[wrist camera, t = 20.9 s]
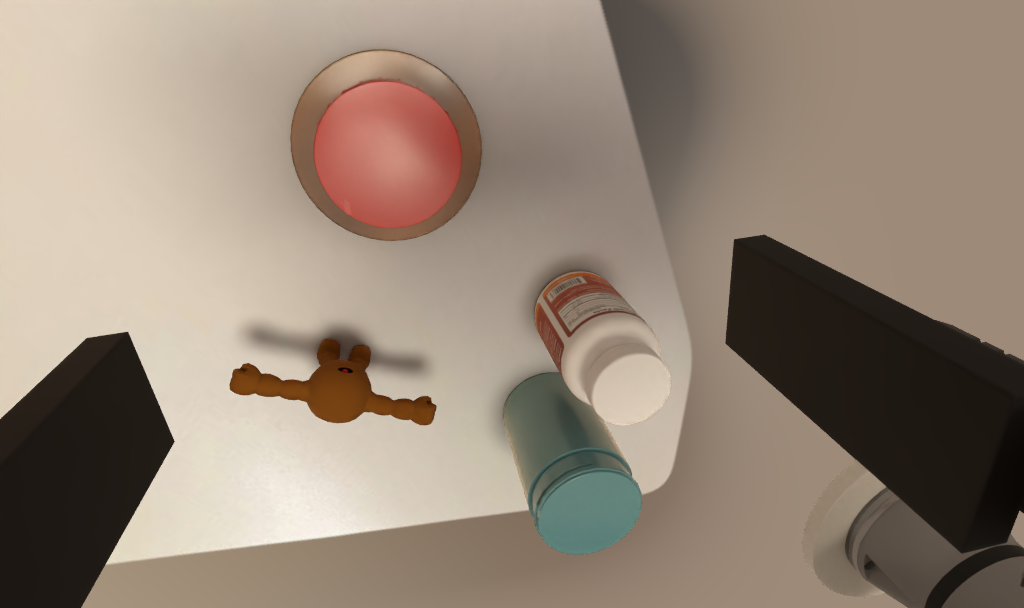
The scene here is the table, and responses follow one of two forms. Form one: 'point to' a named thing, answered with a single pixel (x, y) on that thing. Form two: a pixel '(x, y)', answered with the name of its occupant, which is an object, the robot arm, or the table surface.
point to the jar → (569, 467)
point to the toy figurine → (334, 388)
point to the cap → (387, 153)
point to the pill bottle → (602, 348)
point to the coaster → (370, 68)
